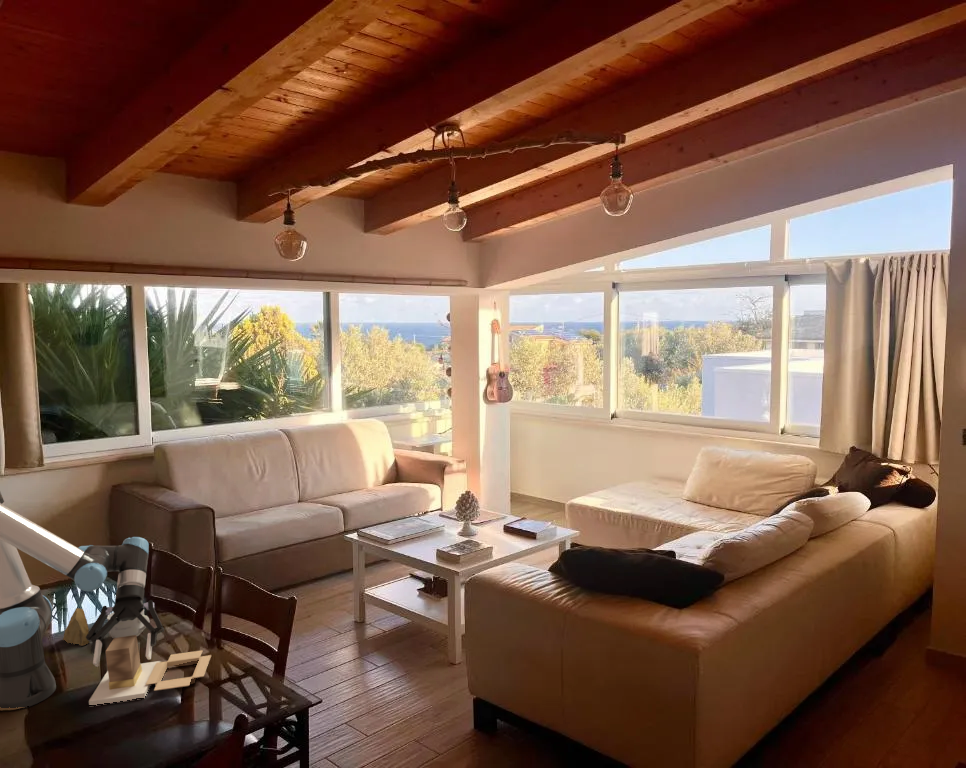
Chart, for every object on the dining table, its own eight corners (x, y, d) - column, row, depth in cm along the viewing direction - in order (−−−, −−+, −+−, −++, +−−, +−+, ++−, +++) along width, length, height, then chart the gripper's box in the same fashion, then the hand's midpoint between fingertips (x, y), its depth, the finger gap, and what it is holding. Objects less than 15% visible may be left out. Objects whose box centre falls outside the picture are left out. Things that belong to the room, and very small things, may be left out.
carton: (142, 698, 201) (141, 691, 200) (160, 662, 220) (159, 656, 220) (201, 690, 203) (200, 683, 203) (214, 655, 223) (213, 648, 223)
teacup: (102, 641, 237) (99, 617, 236) (132, 626, 246) (129, 603, 245) (131, 648, 230) (128, 624, 229) (160, 633, 240) (158, 609, 239)
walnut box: (109, 689, 204) (104, 651, 202) (118, 674, 212) (113, 637, 210) (134, 685, 205) (129, 648, 203) (142, 670, 213) (137, 634, 212)
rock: (98, 636, 235) (99, 620, 244) (77, 621, 231) (78, 605, 240) (70, 661, 233) (72, 644, 242) (48, 646, 229) (50, 630, 238)
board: (89, 706, 198) (88, 701, 198) (109, 672, 216) (109, 667, 216) (145, 698, 201) (144, 693, 201) (160, 665, 218) (160, 660, 218)
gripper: (178, 588, 224) (172, 659, 211) (89, 599, 220) (78, 672, 207) (172, 578, 218) (166, 650, 205) (80, 589, 214) (69, 663, 201)
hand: (122, 661), depth 206 cm, fingers open, 13 cm apart
